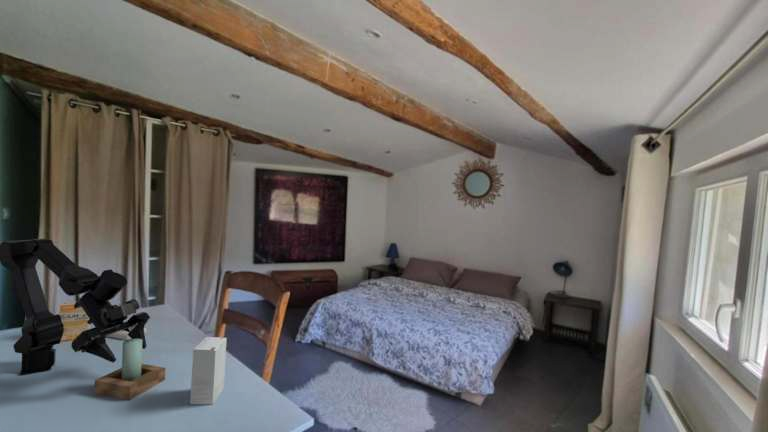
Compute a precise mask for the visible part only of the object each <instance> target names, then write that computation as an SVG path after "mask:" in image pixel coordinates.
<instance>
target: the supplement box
mask: <svg viewBox="0 0 768 432" xmlns="http://www.w3.org/2000/svg"><path fill="white" fill-rule="evenodd" d="M75 303H76V300H75V301H62V302H61V304H59V313H58V314H59V315H60V316H61V320H62V323H63V325H64V333H63V336H62V339H61V341H60V342H66V341H73V340H74V339H75V338H76V337H77V336H78V335H79V334H80V333H81V332H82V331H85V330H89V329H91V324H88V323H87V321H88V320H89V317H88V316H87V314H86V313H85V311H84V310H83V308H82V307H80V308H76V309H75V308H74V304H75Z"/></svg>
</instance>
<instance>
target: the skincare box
mask: <svg viewBox="0 0 768 432" xmlns="http://www.w3.org/2000/svg"><path fill="white" fill-rule="evenodd" d="M227 342H228V340H227V337H216V336H215V337H212V336H205V337H204V339H202V341H200V342H199V343H198V344H197V345H196V346H195V347H193V348H194V349H193V350H192V365H191V366H192V369H191V385H190V402H189V404H191V405H214V403H215V402H216V400H217V399H218V397H219V396H220V394H221V393H222V391H223V390H224V387H225V374H226V371H225V370H226V353H227Z"/></svg>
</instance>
